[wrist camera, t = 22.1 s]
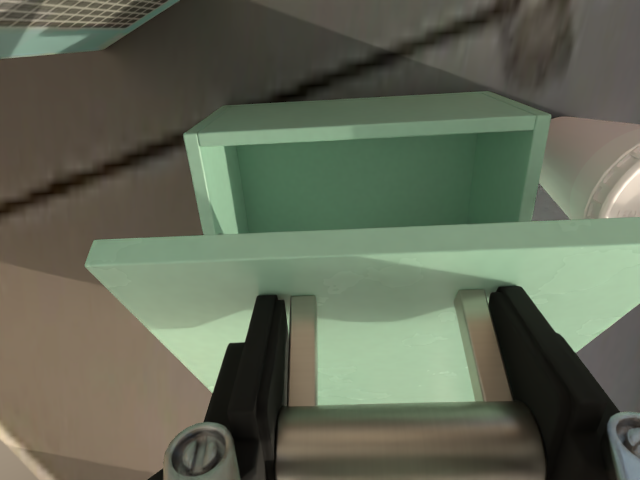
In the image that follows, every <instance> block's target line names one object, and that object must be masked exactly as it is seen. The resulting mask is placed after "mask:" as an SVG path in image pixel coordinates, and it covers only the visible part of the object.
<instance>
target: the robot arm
mask: <svg viewBox="0 0 640 480" xmlns="http://www.w3.org/2000/svg"><path fill="white" fill-rule="evenodd" d="M488 305H489V308H490V312H491V316H492V320H493V323H494V327H495V331H496V334H497V338H498V342H499V346H500V349H501V353H502V357H503V361H504V364H505V368H506V372H507V375H508V379H509V383H510V387H511V390H512V394H513V398H514V400H518V401H521V402H523V403H524V404H526V405H527V407H528V408H529V409H530V410H531V412H532V414H533V415H534V417H535V419H536V422H537V424H538V426H539V429H540V432H541V435H542V438H543V442H544V447H545V452H546V460H547V478H546V480H640V413H636V412H621V413H620V411H619V410H618V409H617V407H616V406H615V405H614V403H613V402H612V401H611V400H610V398H609V397H608V396H607V394H606V393H605V392H604V390H603V389H602V388H601V386H600V385H599V384H598V382H597V381H596V380H595V378H594V377H593V376H592V374H591V373H590V372H589V370H588V369H587V368H586V367H585V365H584V364H583V363H582V361H581V360H580V359H579V357H578V356H577V355H576V353H575V352H574V351H573V349H572V348H571V347H570V345H569V344H568V343H567V341H566V340H565V339H564V338H563V337H562V336H561V335H560V334H558V333H556V332H555V331H554V329H553V328H552V327H551V325H550V324H549V323H548V321H547V320H546V319H545V317H544V316H543V315H542V313H541V312H540V311H539V309H538V308H537V307H536V305H535V304H534V303H533V301H532V300H531V299H530V297H529V296H528V294H527V293H526V292H525V290H524V289H523V288H522V287H521V286H507V287H498V289H497V290H496V292H492V293H491V294H490V297H489V304H488ZM288 349H289V333H288V324H287V316H286V307H285V301H284V300H278V297H277V295H258V296H257V298H256V301H255V305H254V309H253V313H252V317H251V320H250V324H249V328H248V332H247V336H246V340H245V342H240V343H229V344H228V346H227V349H226V352H225V355H224V358H223V362H222V365H221V368H220V371H219V375H218V378H217V381H216V384H215V387H214V391H213V394H212V397H211V400H210V403H209V407H208V410H207V413H206V416H205V420H204V422H203V423H198V424H195V425H192V426H190V427H188V428H186V429H185V430H183V431H182V432H180V433H179V434H178V435H177V436H176V437H175V438H174V439H173V440H172V441H171V442H170V444H169V446H168V448H167V450H166V452H165V456H164V462H163V469H162V470H160V471H159V472H157V473H156V474H155V475H153V476H152V477H151V478H149V479H148V480H275V465H274V464H275V433H276V423H277V417H278V413H279V410H280V408H281V407H282V406H287V378H288Z"/></svg>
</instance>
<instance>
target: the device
mask: <svg viewBox="0 0 640 480" xmlns="http://www.w3.org/2000/svg"><path fill="white" fill-rule="evenodd" d="M178 1H180V0H0V59H5V58H17V57H29V56H40V55H52V54H64V53H75V52H87V51H99V50H104V49H105V48H107V47H108V46H110V45H111V44H113V43H115V42H116V41H118V40H119V39H121V38H122V37H124V36H125V35H127V34H129V33H130V32H132V31H133V30H135V29H136V28H138V27H139V26H141V25H143V24H144V23H146V22H147V21H149V20H150V19H152V18H153V17H155V16H156V15H158V14H160V13H161V12H163V11H164V10H166V9H167V8H169V7H170V6H172V5H174V4H175V3H177V2H178Z"/></svg>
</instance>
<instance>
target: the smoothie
mask: <svg viewBox="0 0 640 480" xmlns="http://www.w3.org/2000/svg"><path fill="white" fill-rule="evenodd" d="M539 183H540V185H541V186H542V187H543V188H544V189H545V190H546V192H547V193H548V194H549V195H550V196H551V197H552V199H553V200H554V201H555V202H556V203H557V204H558V206H559V207H560V208H561V209H562V210H563V212H564V213H565V214H566V215H567V216H568V217H569V219H570V220H577V219H600V218H624V217H640V125H639V124H630V123H621V122H612V121H603V120H594V119H585V118H576V117H557V118H553V119H551V121H550V126H549V132H548V137H547V142H546V147H545V152H544V158H543V163H542V168H541V173H540V178H539Z"/></svg>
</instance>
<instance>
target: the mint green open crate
mask: <svg viewBox="0 0 640 480" xmlns="http://www.w3.org/2000/svg"><path fill="white" fill-rule="evenodd" d="M550 121H551V114H548V113H545V112H543V111H540V110H537V109H535V108H532V107H529V106H527V105H524V104H522V103H519V102H516V101H514V100H511V99H508V98H506V97H503V96H500V95H498V94H495V93H492V92H490V91H480V92H462V93H443V94H425V95H407V96H388V97H370V98H352V99H334V100H315V101H297V102H279V103H260V104H242V105H224V106H222V107H220V108H219V109H217V110H216V111H215V112H213V113H212V114H210V115H209V116H208V117H206V118H205V119H203V120H202V121H201V122H199V123H198V124H196V125H195V126H194V127H192V128H191V129H189V130H188V131H187V132H185V133H184V134H183V137H184V142H185V147H186V152H187V157H188V162H189V166H190V171H191V176H192V181H193V186H194V191H195V196H196V201H197V206H198V211H199V216H200V221H201V226H202V230H203V235H219V234H243V233H267V232H291V231H315V230H338V229H362V228H386V227H410V226H434V225H457V224H481V223H505V222H529V221H531V220H532V215H533V209H534V204H535V199H536V194H537V189H538V184H539V178H540V173H541V168H542V163H543V158H544V152H545V147H546V142H547V137H548V132H549V126H550Z"/></svg>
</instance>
